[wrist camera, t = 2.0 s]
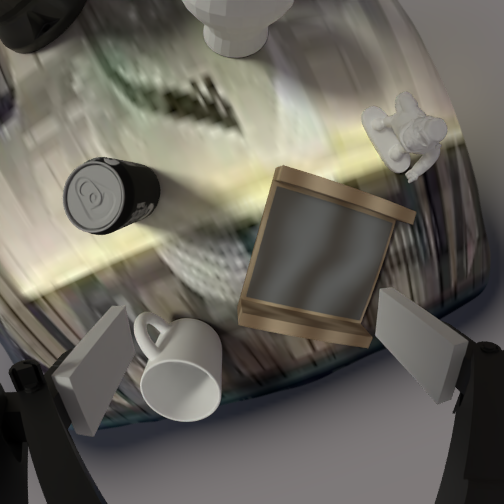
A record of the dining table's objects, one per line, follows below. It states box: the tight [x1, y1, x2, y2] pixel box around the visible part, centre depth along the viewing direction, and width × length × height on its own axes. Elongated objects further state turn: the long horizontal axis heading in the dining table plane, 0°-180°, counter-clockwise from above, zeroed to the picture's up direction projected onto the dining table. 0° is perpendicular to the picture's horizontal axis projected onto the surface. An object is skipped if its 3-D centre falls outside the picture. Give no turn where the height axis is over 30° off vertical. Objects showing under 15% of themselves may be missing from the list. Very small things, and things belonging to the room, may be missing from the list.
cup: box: [182, 0, 294, 58], centre depth 23 cm, size 11×11×15 cm
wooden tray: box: [237, 165, 416, 348], centre depth 34 cm, size 16×17×5 cm
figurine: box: [361, 91, 447, 183], centre depth 28 cm, size 9×6×12 cm
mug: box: [134, 312, 222, 422], centre depth 33 cm, size 12×8×10 cm
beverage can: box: [63, 157, 160, 235], centre depth 28 cm, size 7×7×12 cm
